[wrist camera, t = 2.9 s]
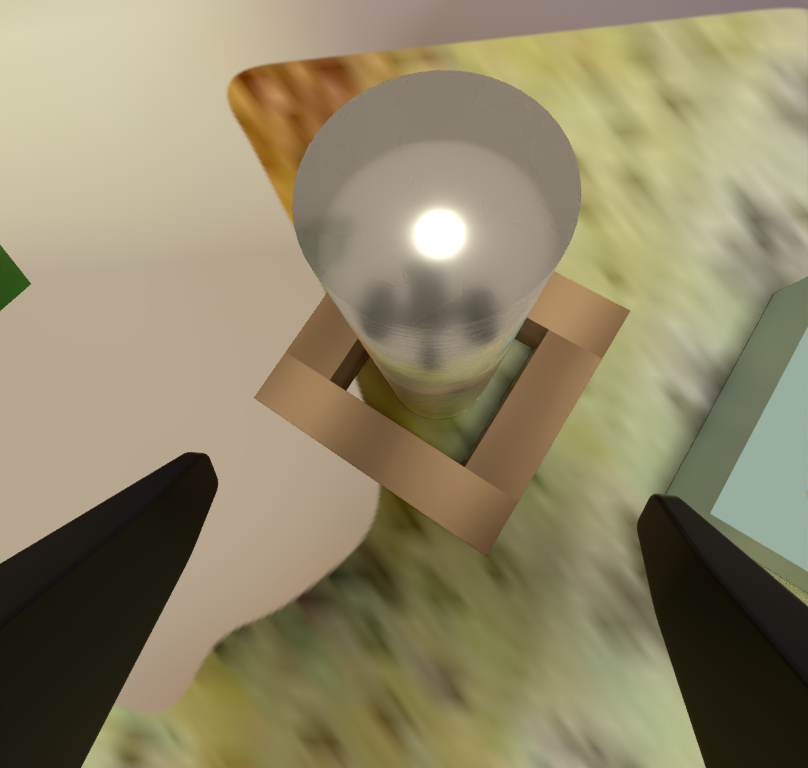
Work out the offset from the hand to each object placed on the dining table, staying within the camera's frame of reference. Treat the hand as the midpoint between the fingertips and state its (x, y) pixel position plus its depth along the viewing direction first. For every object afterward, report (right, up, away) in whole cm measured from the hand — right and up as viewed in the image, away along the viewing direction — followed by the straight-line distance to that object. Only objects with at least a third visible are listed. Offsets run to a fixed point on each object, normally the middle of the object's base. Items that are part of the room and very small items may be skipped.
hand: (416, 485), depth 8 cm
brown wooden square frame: (+1, +3, +12) cm, 13 cm away
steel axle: (+1, +3, +12) cm, 13 cm away
